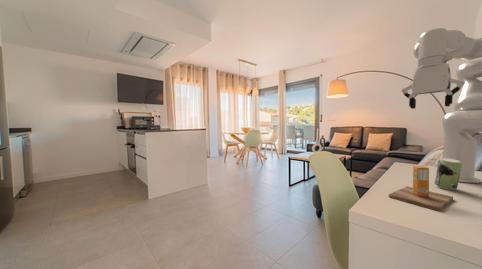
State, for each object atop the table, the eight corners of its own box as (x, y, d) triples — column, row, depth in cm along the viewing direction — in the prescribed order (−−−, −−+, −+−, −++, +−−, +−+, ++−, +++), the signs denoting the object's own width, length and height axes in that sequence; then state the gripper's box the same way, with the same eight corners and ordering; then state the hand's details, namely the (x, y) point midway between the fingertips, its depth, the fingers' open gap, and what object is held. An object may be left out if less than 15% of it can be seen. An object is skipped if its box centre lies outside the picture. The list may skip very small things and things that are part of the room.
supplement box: (411, 192, 64) (412, 165, 64) (423, 194, 63) (425, 165, 62) (416, 196, 61) (417, 167, 60) (429, 197, 60) (431, 168, 59)
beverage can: (446, 185, 74) (447, 157, 74) (466, 192, 67) (468, 160, 67) (429, 185, 75) (430, 156, 74) (447, 191, 68) (449, 160, 67)
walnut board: (406, 188, 71) (406, 186, 71) (453, 199, 61) (453, 196, 61) (388, 197, 63) (388, 194, 63) (438, 211, 52) (438, 207, 52)
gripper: (468, 58, 65) (465, 105, 66) (406, 70, 80) (404, 109, 81) (463, 54, 61) (460, 104, 62) (399, 68, 76) (397, 108, 77)
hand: (429, 107), depth 71 cm, fingers open, 9 cm apart
